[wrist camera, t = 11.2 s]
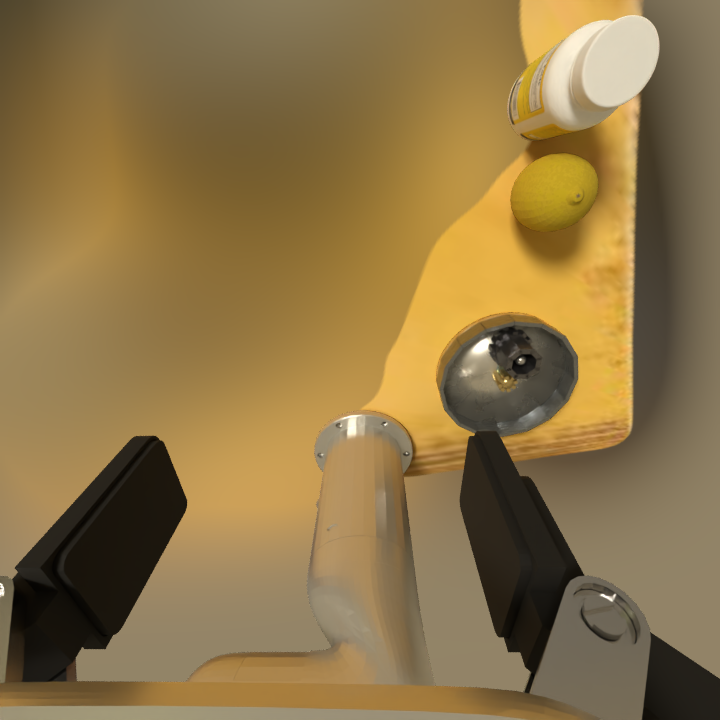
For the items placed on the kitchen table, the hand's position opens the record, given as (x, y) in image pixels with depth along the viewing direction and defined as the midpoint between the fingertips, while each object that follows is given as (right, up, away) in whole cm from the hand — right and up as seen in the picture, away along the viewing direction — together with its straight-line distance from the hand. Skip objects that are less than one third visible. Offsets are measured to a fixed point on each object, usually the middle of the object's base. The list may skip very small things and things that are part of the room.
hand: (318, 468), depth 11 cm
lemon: (+16, +18, +20) cm, 32 cm away
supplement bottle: (+16, +24, +17) cm, 33 cm away
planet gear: (+17, +5, +26) cm, 31 cm away
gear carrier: (+17, +2, +28) cm, 33 cm away
